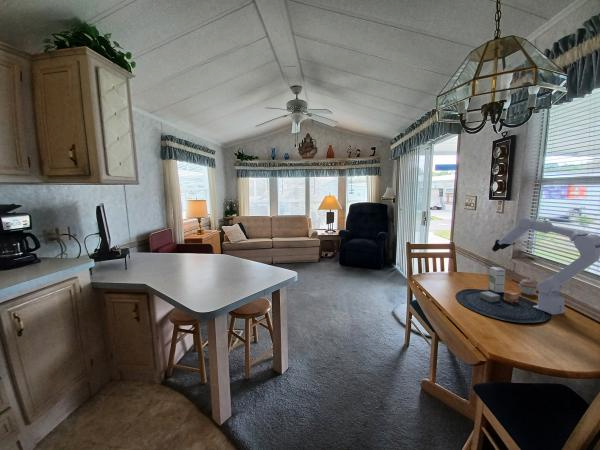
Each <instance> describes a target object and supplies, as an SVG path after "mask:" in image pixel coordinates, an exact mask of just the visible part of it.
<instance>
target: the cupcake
mask: <svg viewBox="0 0 600 450" xmlns="http://www.w3.org/2000/svg"><path fill="white" fill-rule="evenodd" d="M517 286H518V287H519V291H520V293H521V294H522V293H523V295H525V294H526V296H534V295H536V292H537V291H538V289H537V283H536V282H535V281H534V280H533V279H532V278H530V277H527V278H525V279H524V278H523V279H522V280H521V281H520V282H519V283H518V284H517Z"/></svg>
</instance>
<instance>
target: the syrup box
mask: <svg viewBox="0 0 600 450" xmlns="http://www.w3.org/2000/svg"><path fill="white" fill-rule="evenodd" d="M488 278H489V279H488V290H490V291H491V292H493V293H504V292H505V279H506V269H504V268H502V267H500V266H490V267H489V277H488Z"/></svg>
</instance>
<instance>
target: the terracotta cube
mask: <svg viewBox="0 0 600 450" xmlns="http://www.w3.org/2000/svg"><path fill="white" fill-rule="evenodd" d="M503 299H504V300H503V301H505V300H506V301H505V302H507V301H508V303H510V302H511V304H514V303H513V302H516V303H518V302H519V293H518V292H515V291H512V290H506V291H505V290H504V292H503Z"/></svg>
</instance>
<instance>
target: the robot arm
mask: <svg viewBox="0 0 600 450" xmlns="http://www.w3.org/2000/svg"><path fill="white" fill-rule="evenodd" d="M529 230H532V231H535V232H540V233H543V234H548V233H553V234H557V235H561V236H565V237H568V239H569V241H570V242H573V244H574V246H575V248H576V250H578V252H579V255H580V256H579V257H578V258H576V259H575V260H574V261H572V262H570V263H569V264H568V265H567V266H565V267H564V268H562V269H561V270H560V271H558V272H557V273H555V274H554V275H552V276H551V277H548V278H547V279H545V280H543V281H539V282H537V283H536V284H537V291H538V294H537V295H538V297H537V304H536V305H533V306H532V307H533V308H535V309H537V310H540V311H542V312H546V313H548V314H550V315H554V316H556V315H560V314H565V304H566V303H565V302H566V300H565V298H564V297H563V296H560V295H559V292H560V291H561V290H562V288H563V286H565V285H566V283H567V282H568V281H570V280H571V279H573V278H574V277H576V276H577V275H578V274H580V273H582V272H584V270H586V269H588V268H590V266H592V265H594V264H595V263H596V262H598V261H599V260H600V235H598V234H592V233H591V232H587V231H583V230H577V229H574V228H568V227H561V226H558V225H557V226H556V225H553V223H552V222H549V220H540V219H537V218H534V217H524V218H521V219H519V220H518V222H517V224H516V225H515V226H514V227H512V228H511V229H510V230H509V231H507V233H506V234H502V235H501V239H495V241H494V244H493V246H492V248H491V251H493V253H495V252H497V251H499V250H505V249H506V248H508V247H510V246H513V245H515V244H516V241H518V240H519V239H520V238H521V237H522V236H523V235H525V234H526V233H527V232H528V231H529Z"/></svg>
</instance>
